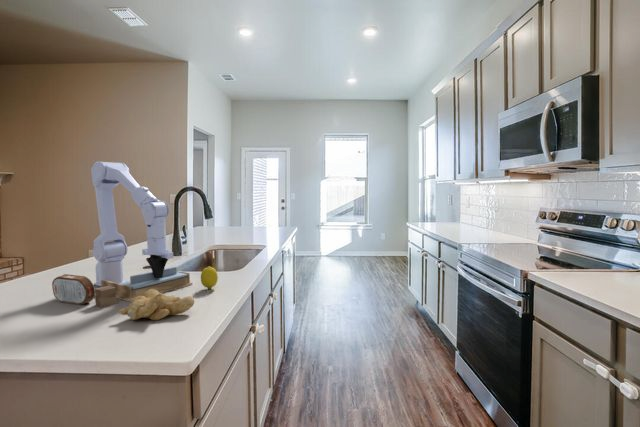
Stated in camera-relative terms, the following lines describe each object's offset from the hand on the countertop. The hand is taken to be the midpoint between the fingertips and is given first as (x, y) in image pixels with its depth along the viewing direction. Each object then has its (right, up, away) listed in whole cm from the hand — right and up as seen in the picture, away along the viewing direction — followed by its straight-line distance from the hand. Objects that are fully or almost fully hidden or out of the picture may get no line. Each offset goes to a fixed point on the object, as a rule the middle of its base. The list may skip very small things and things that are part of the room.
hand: (158, 277), depth 121 cm
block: (-10, -6, -13) cm, 17 cm away
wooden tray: (-6, -4, +4) cm, 8 cm away
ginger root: (+10, -7, -23) cm, 26 cm away
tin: (-21, -6, -11) cm, 24 cm away
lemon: (+17, -4, +2) cm, 17 cm away
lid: (-2, -1, +1) cm, 2 cm away
